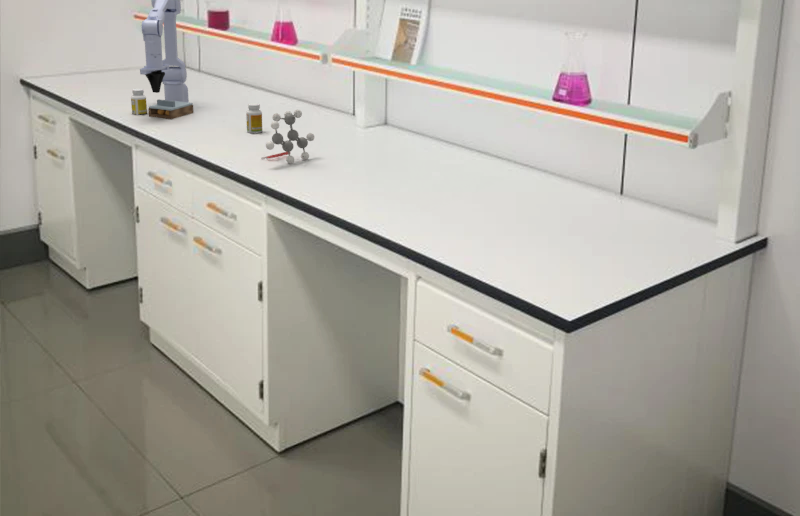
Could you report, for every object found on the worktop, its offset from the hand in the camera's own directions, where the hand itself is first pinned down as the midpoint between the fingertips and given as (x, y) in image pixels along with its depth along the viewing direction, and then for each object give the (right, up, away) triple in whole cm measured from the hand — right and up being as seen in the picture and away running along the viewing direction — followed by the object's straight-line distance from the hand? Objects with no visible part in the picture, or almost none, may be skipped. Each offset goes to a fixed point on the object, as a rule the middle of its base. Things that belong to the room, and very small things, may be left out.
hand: (156, 92), depth 324 cm
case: (+3, -7, +11) cm, 13 cm away
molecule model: (+52, -30, -46) cm, 75 cm away
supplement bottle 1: (-9, -7, +11) cm, 16 cm away
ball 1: (0, -7, +8) cm, 11 cm away
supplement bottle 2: (+37, -16, -9) cm, 41 cm away
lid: (+3, -3, +10) cm, 11 cm away
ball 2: (+3, -8, +7) cm, 11 cm away
